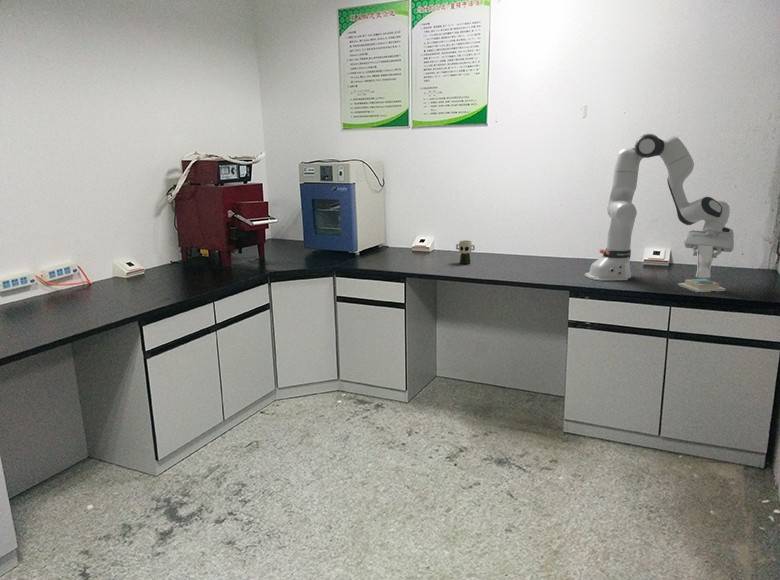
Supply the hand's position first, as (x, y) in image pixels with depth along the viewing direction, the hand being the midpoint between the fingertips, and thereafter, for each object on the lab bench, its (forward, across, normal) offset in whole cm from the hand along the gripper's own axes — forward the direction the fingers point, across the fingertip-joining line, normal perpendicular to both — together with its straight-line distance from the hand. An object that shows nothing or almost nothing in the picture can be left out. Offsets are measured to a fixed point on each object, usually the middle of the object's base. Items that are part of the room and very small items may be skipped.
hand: (704, 256), depth 263 cm
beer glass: (+7, 0, +7) cm, 10 cm away
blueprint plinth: (+10, 0, +11) cm, 15 cm away
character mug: (+24, -120, -2) cm, 122 cm away
